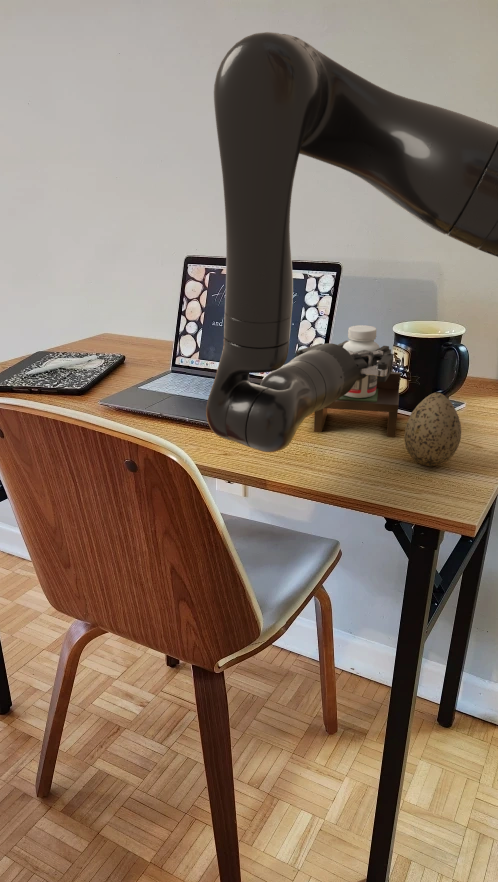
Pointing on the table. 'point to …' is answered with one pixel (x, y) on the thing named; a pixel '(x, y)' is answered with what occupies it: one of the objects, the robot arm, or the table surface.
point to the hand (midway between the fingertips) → (367, 350)
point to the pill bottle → (362, 340)
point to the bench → (369, 403)
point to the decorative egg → (433, 431)
